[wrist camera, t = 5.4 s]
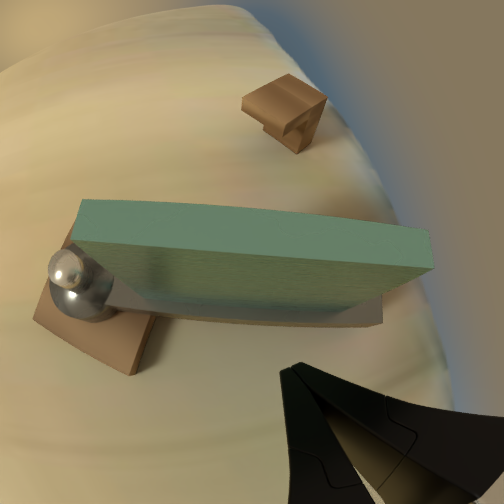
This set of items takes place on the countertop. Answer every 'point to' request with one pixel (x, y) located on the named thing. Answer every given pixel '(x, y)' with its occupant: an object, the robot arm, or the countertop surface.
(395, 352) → the countertop surface
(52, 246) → the countertop surface
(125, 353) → the pintle block
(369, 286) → the link
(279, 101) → the block
